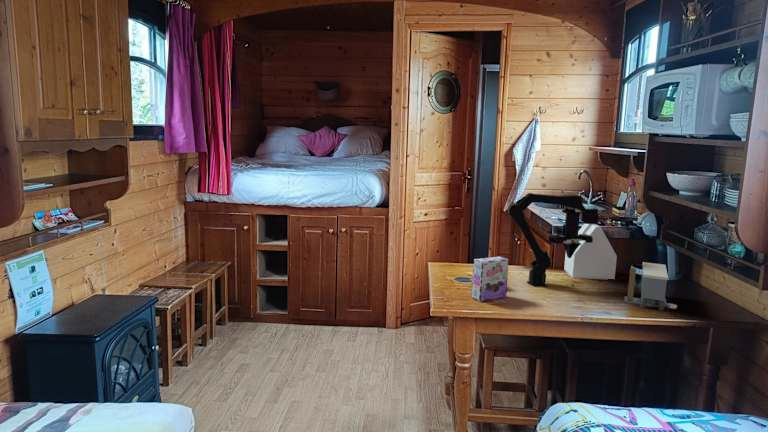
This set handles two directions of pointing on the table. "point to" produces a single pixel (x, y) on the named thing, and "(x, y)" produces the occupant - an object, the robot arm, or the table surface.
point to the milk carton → (592, 256)
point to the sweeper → (631, 290)
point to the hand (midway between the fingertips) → (569, 257)
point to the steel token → (671, 306)
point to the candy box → (489, 278)
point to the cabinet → (653, 284)
